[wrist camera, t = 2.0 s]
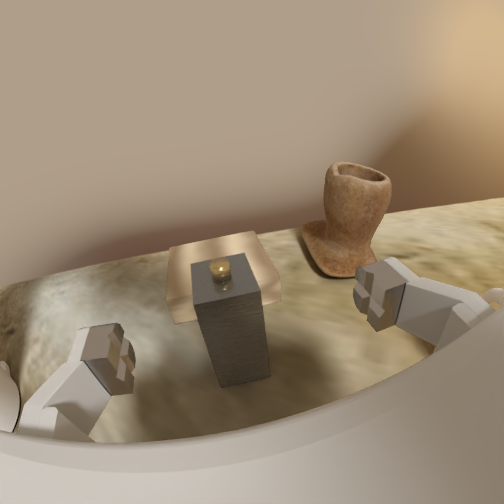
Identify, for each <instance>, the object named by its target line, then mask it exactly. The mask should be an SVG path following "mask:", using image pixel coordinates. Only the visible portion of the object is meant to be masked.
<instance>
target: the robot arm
mask: <svg viewBox="0 0 504 504" xmlns="http://www.w3.org/2000/svg"><path fill="white" fill-rule="evenodd" d="M355 279H356V280H357V281H358V282H357V284H356V285H355V287H354V289H353V298H354V302H355V305H356V307H357V309H358V310H359V311H360V312H361V313H363V314H366V315H367V321H368V322H369V324H370V325H371V326H372V327H373V329H374V330H375V331H376V332H378V331H381V330H383V329H386V328H388V327H391V326H394V325H396V326H397V327H399V328H401V329H403V330H405V331H407V332H409V333H411V334H413V335H415V336H417V337H419V338H421V339H423V340H425V341H427V342H428V343H430V344H432V345H434V346H436V348H435V350H434V352H433V354H432V355H430V356H428V357H427V358H425V359H423V360H421V361H420V362H418V363H416V364H414V365H412V366H410V367H409V368H407V369H405V370H403V371H401V372H399V373H397V374H395V375H393V376H391V377H389V378H387V379H385V380H383V381H381V382H378V383H376V384H374V385H372V386H370V387H367V388H365V389H363V390H360V391H358V392H356V393H353V394H351V395H348V396H346V397H343V398H341V399H338V400H336V401H333V402H330V403H328V404H325V405H322V406H319V407H316V408H314V409H311V410H308V411H305V412H301V413H298V414H295V415H292V416H288V417H285V418H282V419H278V420H274V421H271V422H267V423H263V424H259V425H255V426H251V427H246V428H242V429H237V430H232V431H227V432H222V433H217V434H211V435H205V436H198V437H191V438H183V439H174V440H164V441H151V442H129V443H98V442H95V441H94V440H92V439H91V438H90V437H89V436H88V435H89V433H90V432H91V430H92V428H93V427H94V425H95V423H96V422H97V420H98V418H99V417H100V415H101V413H102V412H103V410H104V408H105V407H106V405H107V404H108V402H109V400H110V399H111V396H113V395H122V394H131V393H133V387H134V376H133V375H132V373H131V372H132V371H133V369H134V368H135V363H136V359H135V353H134V350H133V347H132V345H131V343H130V341H129V340H127V339H125V338H124V337H123V335H124V330H123V329H122V327H121V325H120V324H118V323H112V324H105V325H98V326H92V327H85V328H80V329H79V330H78V331H77V334H76V337H75V340H74V342H73V345H72V348H71V351H70V355H69V358H68V361H67V362H66V363H63V364H62V365H61V366H60V367H59V368H58V369H57V370H56V371H55V372H54V373H53V374H52V375H51V376H50V377H49V378H48V379H47V381H46V382H45V383H44V384H43V385H42V386H41V387H40V388H39V389H38V390H37V391H36V392H35V393H34V394H33V396H32V397H31V398H30V399H29V400H28V401H27V402H26V403H25V405H24V408H23V412H22V416H21V419H20V423H19V427H18V432H17V433H12V431H13V428H14V426H15V423H16V420H17V417H18V412H19V402H20V400H19V391H18V388H17V385H16V384H15V382H14V381H13V379H12V378H11V376H10V369H9V366H8V365H7V364H6V363H5V362H4V361H0V504H504V304H503V305H502V306H501V307H500V308H499V309H497V310H495V309H494V308H492V307H491V306H490V305H489V304H488V303H487V302H486V301H485V300H483V299H482V298H481V297H480V296H479V295H478V294H476V293H475V292H472V291H468V290H465V289H462V288H458V287H455V286H452V285H448V284H445V283H442V282H438V281H435V280H431V279H428V278H424V277H421V278H419V277H418V276H417V275H416V274H414V273H413V272H412V271H411V270H410V269H408V268H407V267H406V266H405V265H403V264H402V263H401V262H400V261H399V260H397V259H396V258H395V257H388V258H385V259H382V260H380V261H377V262H374V263H371V264H367V265H364V266H360V267H357V269H356V271H355Z"/></svg>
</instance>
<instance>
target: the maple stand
mask: <svg viewBox="0 0 504 504" xmlns="http://www.w3.org/2000/svg"><path fill="white" fill-rule="evenodd" d="M240 253H245V255H246V257H247V260H248V262H249V264H250V267H251V269H252V271H253V274H254V276H255V278H256V281H257V283H258V285H259V288H260V290H261V297H262V306H263V305H267V304H271V303H275V302H279V301H281V290H280V276H279V274H278V272H277V270H276V269H275V267H274V265H273V263H272V262H271V260H270V258H269V256H268V255H267V253H266V251H265V249H264V248H263V246H262V244H261V242H260V241H259V239H258V237H257V236H256V234H255V232H254V231H249V232H244V233H238V234H233V235H228V236H224V237H218V238H213V239H209V240H204V241H199V242H194V243H189V244H185V245H180V246H175V247H171V248H170V250H169V262H168V275H167V290H166V301H167V304H168V307H169V310H170V312H171V315H172V318H173V320H174V323H175V324H178V323H183V322H188V321H193V320H198V318H197V315H196V312H195V309H194V306H193V295H192V281H191V266H190V264H192V263H196V262H201V261H206V260H211V259H216V258H220V257H225V256H230V255H235V254H240Z"/></svg>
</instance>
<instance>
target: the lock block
mask: <svg viewBox="0 0 504 504" xmlns="http://www.w3.org/2000/svg"><path fill="white" fill-rule="evenodd" d="M190 266H191V281H192V295H193V306H194V309H195V312H196V315H197V318H198V322H199V325H200V328H201V331H202V334H203V337H204V340H205V343H206V346H207V349H208V352H209V355H210V358H211V361H212V363H213V366H214V369H215V372H216V375H217V377H218V380H219V383H220V386H221V388H223V387H228V386H232V385H237V384H242V383H246V382H250V381H255V380H259V379H263V378H267V377H270V367H269V358H268V349H267V341H266V332H265V323H264V314H263V306H262V297H261V290H260V288H259V285H258V283H257V281H256V278H255V276H254V274H253V271H252V269H251V267H250V264H249V262H248V260H247V257H246V255H245V253H240V254H235V255H230V256H225V257H220V258H216V259H211V260H206V261H201V262H196V263H192V264H190Z"/></svg>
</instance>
